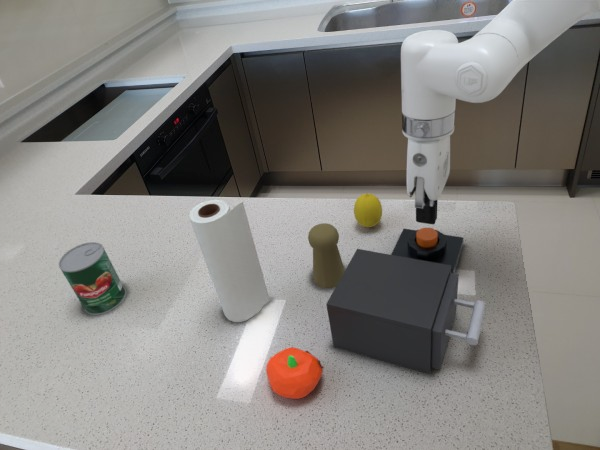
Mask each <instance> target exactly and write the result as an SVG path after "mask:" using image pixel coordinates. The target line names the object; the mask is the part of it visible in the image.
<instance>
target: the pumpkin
mask: <svg viewBox="0 0 600 450" xmlns="http://www.w3.org/2000/svg"><path fill="white" fill-rule="evenodd" d="M265 371H266V376H267V380H268V383H269V386H270V387H271V389H272V391H273V392H274V393H275V394H276V395H278V396H280V397H282V398H285V399H292V400H298V399H303V398H305V397H306V396H308V395H309V394H310V393H311V392H313V391H314V390H315V389H316V387H317V385H318V384H319V381H320V379H321V378H322V375H323V372H324V366H323V365H322V363H321V361H320V359H318V358H317V357H316V356H314V355H313V354H312V353H310V351H309V350H302V349H300V348H296V347H293V346H291V347H287V348H284V349H282V350H280V351H279V352H277V353H275V354H274V355H272V356H271V357H270V358H269V360H268V362H267V363H266V368H265Z"/></svg>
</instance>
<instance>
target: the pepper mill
mask: <svg viewBox="0 0 600 450" xmlns="http://www.w3.org/2000/svg"><path fill="white" fill-rule="evenodd" d="M307 240H308V244H309V245H310V247H311V248H312V279H313V282H314V284H315V285H316V286H317V287H320V288H322V289H335V288H336V286H337V284H338V282H339V280H340V279H341V277H342V275H343V273H344V271H345V270H346V268H345V267H344V263H343V259H342V256H341V254H340V250H339V247H338V244H339V240H340V235H339V231H338V228H336V226H334V225H332V224H331V223H319V224H316V225H314V226H313V227H311V229H310V230H309V231H308V236H307Z"/></svg>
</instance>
